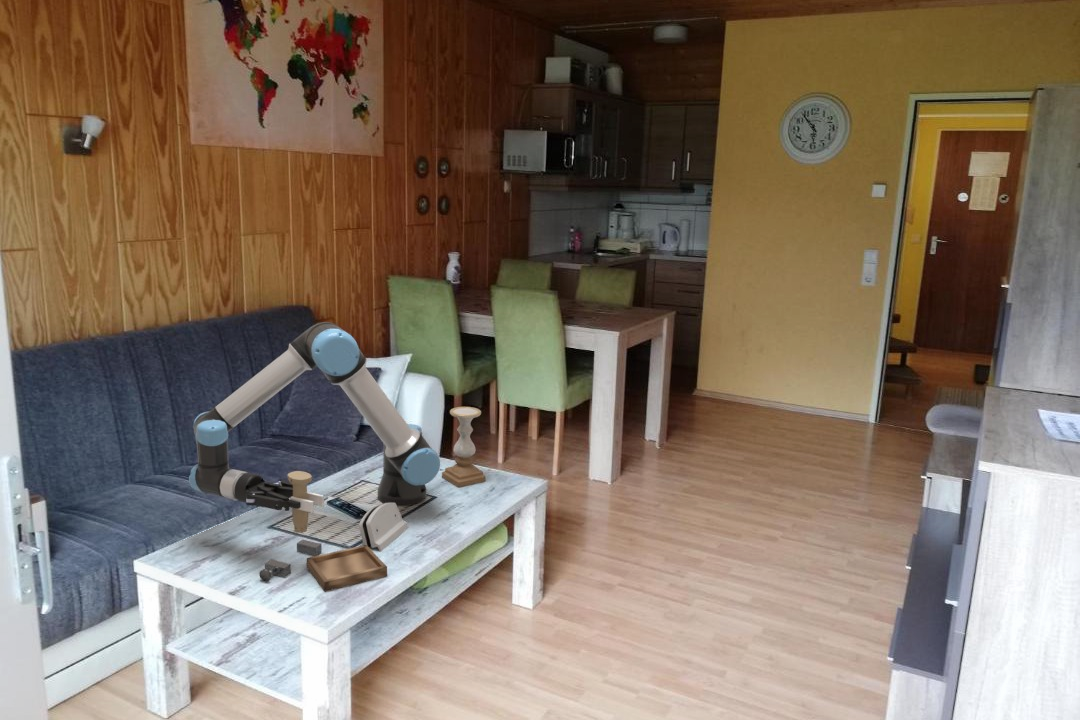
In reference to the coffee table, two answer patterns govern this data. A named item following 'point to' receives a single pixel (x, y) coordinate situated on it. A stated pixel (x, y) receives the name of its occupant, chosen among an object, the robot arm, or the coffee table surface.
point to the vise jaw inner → (309, 548)
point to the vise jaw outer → (275, 569)
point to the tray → (346, 567)
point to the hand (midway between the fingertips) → (317, 503)
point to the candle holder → (464, 451)
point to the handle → (299, 491)
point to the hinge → (382, 526)
